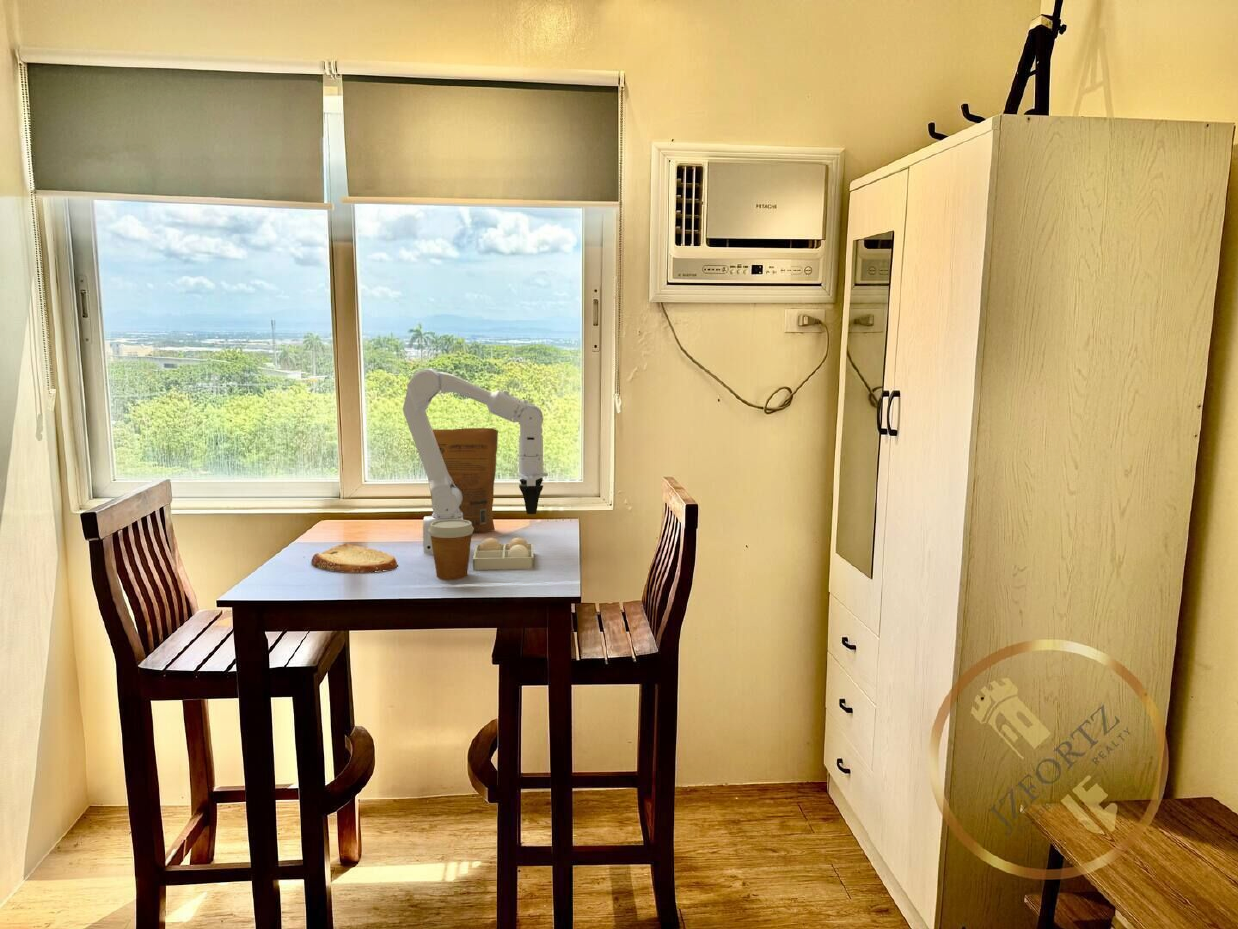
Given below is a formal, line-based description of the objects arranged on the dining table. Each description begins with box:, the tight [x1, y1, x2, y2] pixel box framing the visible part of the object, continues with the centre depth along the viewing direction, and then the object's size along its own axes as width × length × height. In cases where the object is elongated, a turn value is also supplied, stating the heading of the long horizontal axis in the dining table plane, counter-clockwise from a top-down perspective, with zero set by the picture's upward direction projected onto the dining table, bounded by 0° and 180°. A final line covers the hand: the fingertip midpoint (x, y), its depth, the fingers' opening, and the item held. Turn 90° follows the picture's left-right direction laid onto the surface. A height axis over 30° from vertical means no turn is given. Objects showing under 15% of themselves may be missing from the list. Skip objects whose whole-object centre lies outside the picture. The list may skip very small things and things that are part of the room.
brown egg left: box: [480, 537, 501, 551], centre depth 186 cm, size 5×5×5 cm
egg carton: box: [472, 542, 534, 571], centre depth 183 cm, size 13×13×3 cm
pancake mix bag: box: [427, 427, 499, 534], centre depth 213 cm, size 7×19×28 cm, turn 92°
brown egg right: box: [508, 537, 528, 550], centre depth 187 cm, size 5×5×5 cm
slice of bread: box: [311, 543, 399, 574], centre depth 182 cm, size 18×18×4 cm
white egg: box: [508, 545, 529, 558], centre depth 180 cm, size 5×5×5 cm
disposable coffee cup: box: [428, 519, 474, 581], centre depth 171 cm, size 10×10×12 cm
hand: (531, 510), depth 194 cm, fingers open, 7 cm apart
